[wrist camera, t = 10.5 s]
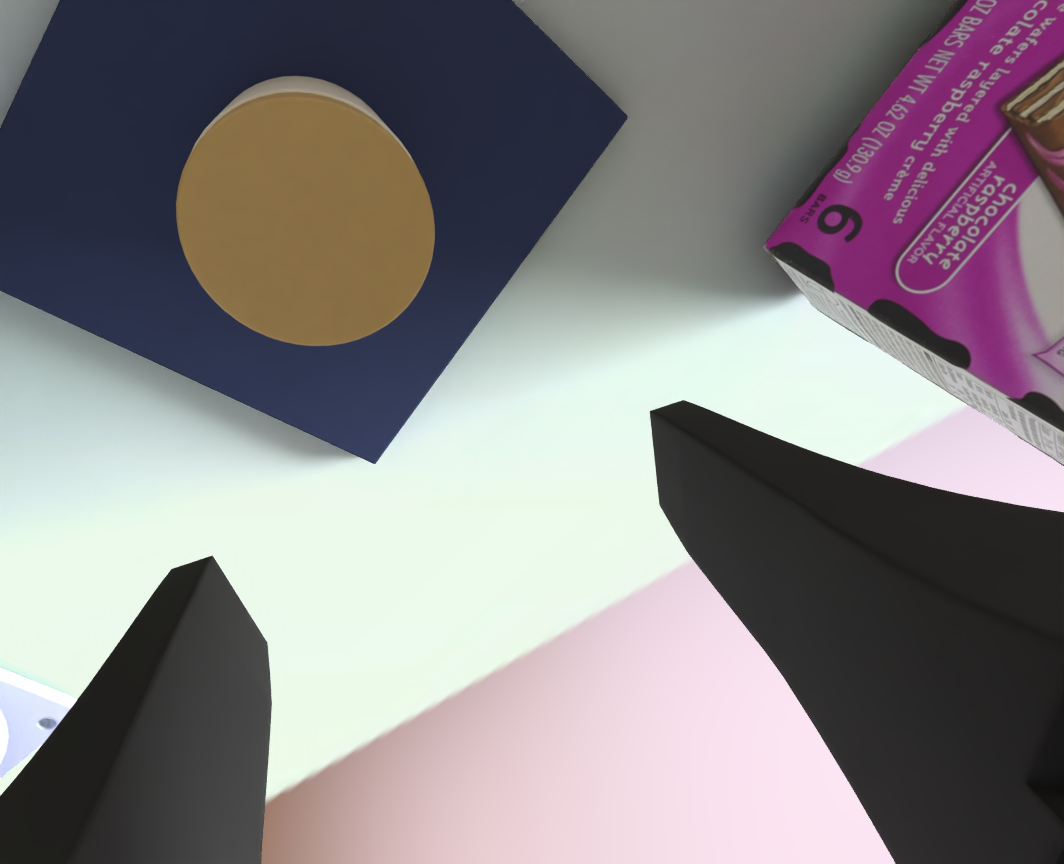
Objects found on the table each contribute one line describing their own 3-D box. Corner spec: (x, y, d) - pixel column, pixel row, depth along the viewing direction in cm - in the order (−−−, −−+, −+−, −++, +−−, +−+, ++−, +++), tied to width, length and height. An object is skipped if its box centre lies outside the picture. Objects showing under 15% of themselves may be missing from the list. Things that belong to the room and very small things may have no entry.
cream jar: (311, 306, 17) (313, 392, 13) (162, 165, 15) (109, 217, 11) (440, 194, 17) (485, 247, 13) (309, 29, 14) (312, 28, 10)
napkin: (373, 456, 21) (375, 465, 20) (-54, 256, 15) (-64, 262, 15) (622, 114, 18) (629, 116, 17) (205, -297, 12) (202, -308, 12)
